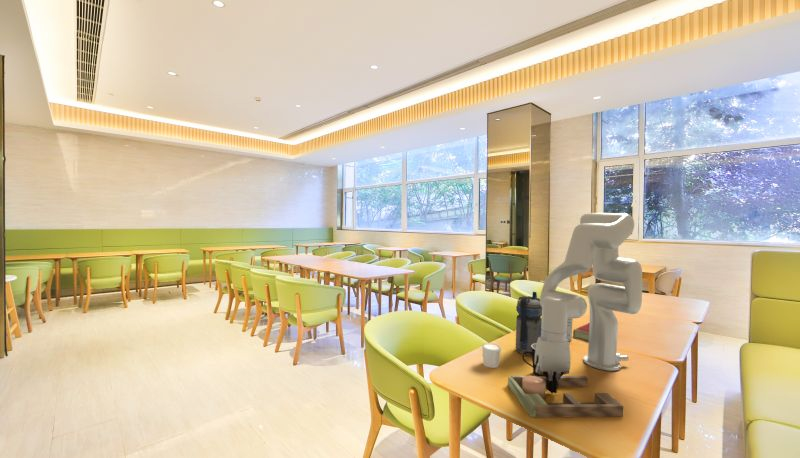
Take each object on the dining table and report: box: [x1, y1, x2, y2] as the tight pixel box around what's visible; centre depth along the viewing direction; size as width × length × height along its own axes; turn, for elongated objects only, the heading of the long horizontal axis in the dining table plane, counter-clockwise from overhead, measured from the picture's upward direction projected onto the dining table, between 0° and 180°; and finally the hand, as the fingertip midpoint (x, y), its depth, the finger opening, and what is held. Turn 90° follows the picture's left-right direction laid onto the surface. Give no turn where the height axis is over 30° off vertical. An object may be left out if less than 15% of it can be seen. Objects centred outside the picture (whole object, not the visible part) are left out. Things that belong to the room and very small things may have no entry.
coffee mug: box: [521, 343, 544, 376], centre depth 124 cm, size 12×9×10 cm
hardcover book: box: [572, 322, 590, 341], centre depth 166 cm, size 12×21×4 cm, turn 129°
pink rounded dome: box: [521, 375, 547, 400], centre depth 110 cm, size 7×7×4 cm
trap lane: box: [507, 374, 625, 418], centre depth 108 cm, size 27×18×3 cm
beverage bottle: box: [515, 291, 542, 357], centre depth 143 cm, size 10×13×25 cm
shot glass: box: [481, 343, 502, 369], centre depth 132 cm, size 7×7×7 cm
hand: (551, 390), depth 111 cm, fingers closed
